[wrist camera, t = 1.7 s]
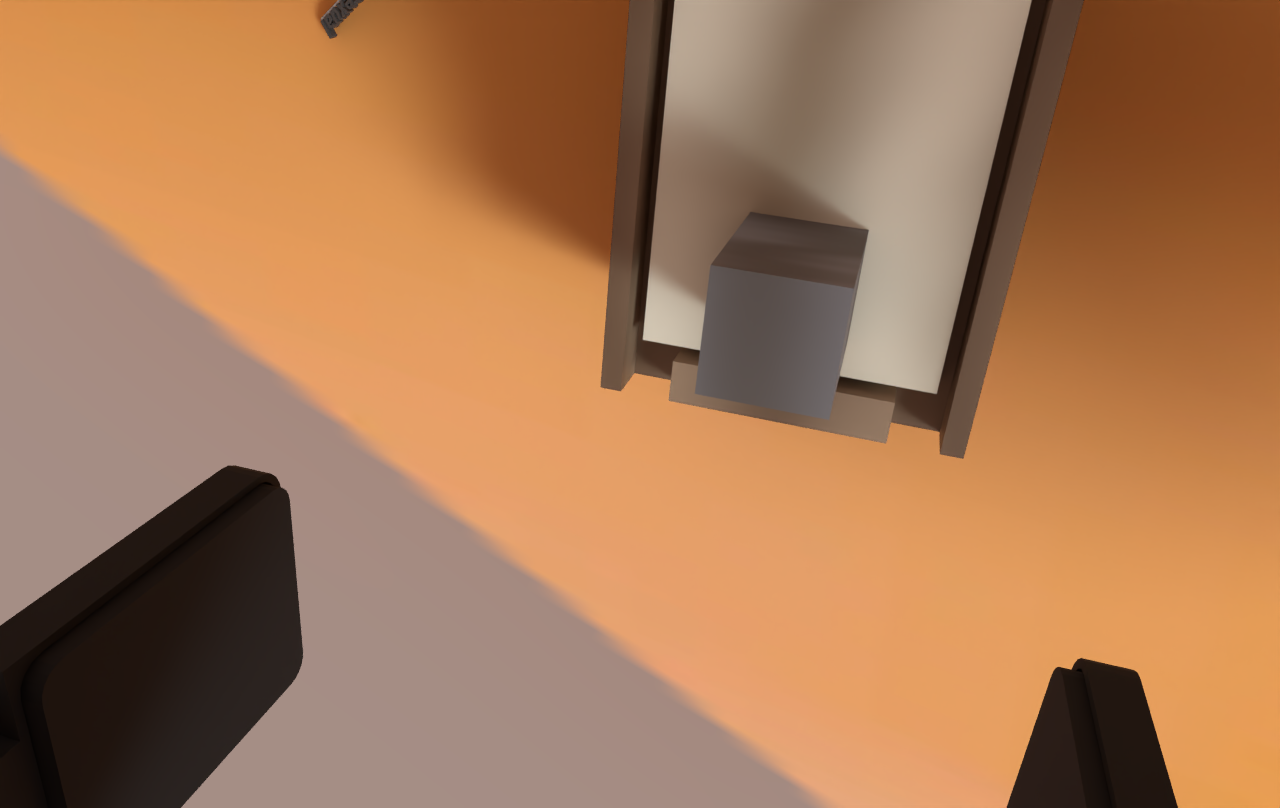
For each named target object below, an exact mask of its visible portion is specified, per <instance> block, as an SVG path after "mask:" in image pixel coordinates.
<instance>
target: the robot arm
mask: <svg viewBox="0 0 1280 808" xmlns="http://www.w3.org/2000/svg"><path fill="white" fill-rule="evenodd" d="M302 659H303V648H302V636H301V625H300V613H299V601H298V591H297V579H296V568H295V556H294V544H293V532H292V521H291V510H290V499H289V495H288V493H287V491H286V490H284V489H283V488H281V487H280V483H279V481H278V479H277V478H276V477H275V476H274V475H272V474H270V473H265V472H261V471H256V470H252V469H248V468H243V467H239V466H227V467H225V468H223V469H221V470H220V471H218V472H217V473H215V474H214V475H212V476H211V477H210V478H208V479H207V480H206V481H204V482H203V483H201V484H200V485H198V486H197V487H196V488H194V489H193V490H191V491H190V492H189V493H187V494H186V495H184V496H183V497H181V498H180V499H179V500H177V501H176V502H174V503H173V504H172V505H170V506H169V507H167V508H166V509H164V510H163V511H162V512H160V513H159V514H157V515H156V516H155V517H153V518H152V519H150V520H149V521H148V522H146V523H145V524H144V525H142V526H140V527H139V528H138V529H136V530H135V531H133V532H132V533H131V534H129V535H128V536H126V537H125V538H124V539H122V540H121V541H119V542H118V543H116V544H115V545H114V546H112V547H111V548H110V549H108V550H107V551H105V552H104V553H102V554H101V555H99V556H98V557H97V558H95V559H94V560H93V561H91V562H90V563H88V564H87V565H86V566H84V567H83V568H81V569H80V570H78V571H77V572H76V573H74V574H73V575H71V576H70V577H68V578H67V579H66V580H64V581H63V582H61V583H60V584H59V585H57V586H56V587H54V588H53V589H51V591H49V592H47V593H46V594H44V595H43V596H42V597H40V598H39V599H37V600H36V601H35V602H33V603H32V604H30V605H29V606H27V607H26V608H25V609H23V610H22V611H20V612H19V613H18V614H16V615H15V616H13V617H12V618H11V619H9V620H8V621H6V622H5V623H4V624H2V625H1V626H0V808H181V807H182V806H183V805H184V804H185V802H186V801H187V800H188V799H189V798H190V797H191V796H192V795H193V793H194V792H195V791H196V790H197V789H198V787H200V786H201V784H202V783H203V782H204V781H205V780H206V779H207V778H208V777H209V775H210V774H211V773H212V772H213V771H214V770H215V769H216V768H217V767H218V765H219V764H220V763H221V762H222V761H223V760H224V759H225V758H226V756H227V755H228V754H229V753H230V752H231V751H232V750H233V749H234V748H235V746H236V745H237V744H238V743H239V742H240V741H241V740H242V739H243V737H244V736H245V735H246V734H247V733H248V732H249V731H250V730H251V728H252V727H253V726H254V725H255V724H256V723H257V722H258V721H259V720H260V718H261V717H262V716H263V715H264V714H265V713H266V712H267V710H268V709H269V708H270V707H271V706H272V705H273V704H274V703H275V702H276V700H277V699H278V698H279V697H280V696H281V695H282V694H283V693H284V692H285V690H286V689H287V688H288V687H289V686H290V685H291V684H292V682H293V680H295V678H296V676H297V674H298V672H299V670H300V667H301V664H302ZM1007 808H1178V806H1177V803H1176V799H1175V796H1174V793H1173V789H1172V786H1171V782H1170V779H1169V775H1168V772H1167V769H1166V765H1165V762H1164V758H1163V755H1162V751H1161V748H1160V744H1159V741H1158V738H1157V734H1156V731H1155V727H1154V724H1153V720H1152V717H1151V714H1150V710H1149V707H1148V703H1147V700H1146V696H1145V693H1144V690H1143V686H1142V683H1141V679H1140V677H1139V675H1138V673H1137V672H1136V671H1134V670H1131V669H1127V668H1122V667H1118V666H1113V665H1109V664H1105V663H1100V662H1096V661H1091V660H1087V659H1083V658H1080V659H1078V660H1077V661H1076V662H1075V664H1074V665H1073V668H1072V670H1070V669H1066V668H1061V667H1057V668H1056V669H1055V670H1054V671H1053V674H1052V676H1051V679H1050V682H1049V685H1048V688H1047V691H1046V694H1045V696H1044V699H1043V702H1042V705H1041V708H1040V711H1039V714H1038V717H1037V720H1036V723H1035V726H1034V729H1033V732H1032V735H1031V738H1030V741H1029V744H1028V746H1027V749H1026V752H1025V755H1024V758H1023V761H1022V764H1021V767H1020V770H1019V773H1018V776H1017V779H1016V782H1015V785H1014V788H1013V791H1012V793H1011V796H1010V799H1009V802H1008V805H1007Z"/></svg>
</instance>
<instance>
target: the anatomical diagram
mask: <svg viewBox="0 0 1280 808" xmlns="http://www.w3.org/2000/svg"><path fill="white" fill-rule="evenodd" d="M339 2H340V3H339ZM361 2H363V0H338V1H337V2H336V3H335V4H334V5H333V6H332V7H331V8H330V9H329V10H328V11H327V12H326V13H325V14H324V15H323V17H322V18H321V23H322V25H323V27H324V29H325V31H326V33H327V34H328V36H329V38H334V37H336V36H337V34H336V32H335V30H334V28H336V27H338V26H339V24H340V23H342V22H343V19H346V18H347V16H349V15H350V12H352V11H353V8H357V6H358V3H361ZM335 6H337V7H335Z"/></svg>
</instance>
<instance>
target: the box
mask: <svg viewBox="0 0 1280 808" xmlns="http://www.w3.org/2000/svg"><path fill="white" fill-rule="evenodd" d="M1083 1H1084V0H1032V1H1031V5H1030V10H1029V14H1028V18H1027V22H1026V26H1025V30H1024V34H1023V39H1022V43H1021V47H1020V51H1019V55H1018V59H1017V63H1016V68H1015V72H1014V76H1013V80H1012V84H1011V88H1010V92H1009V97H1008V101H1007V105H1006V109H1005V113H1004V117H1003V121H1002V126H1001V130H1000V134H999V138H998V142H997V146H996V150H995V155H994V159H993V163H992V167H991V171H990V175H989V179H988V184H987V188H986V192H985V196H984V200H983V204H982V208H981V213H980V217H979V221H978V225H977V229H976V233H975V237H974V242H973V246H972V250H971V254H970V258H969V262H968V266H967V271H966V275H965V279H964V283H963V287H962V291H961V295H960V300H959V304H958V308H957V312H956V316H955V320H954V324H953V329H952V333H951V337H950V341H949V345H948V349H947V353H946V358H945V362H944V366H943V370H942V374H941V378H940V382H939V387H938V391H937V394H934V393H929V392H923V391H918V390H912V389H907V388H902V387H896V386H891V385H885V384H880V383H875V382H869V381H864V380H858V379H853V378H847V377H842V376H839V380H838V384H837V388H836V393H835V397H834V401H833V405H832V410H831V414H830V418H829V420H827V419H822V418H816V417H811V416H806V415H801V414H796V413H791V412H785V411H780V410H775V409H770V408H765V407H760V406H755V405H749V404H744V403H739V402H734V401H729V400H724V399H719V398H713V397H708V396H703V395H698V394H695V388H696V380H697V371H698V363H699V355H700V350H696V349H690V348H685V347H679V346H674V345H669V344H663V343H658V342H652V341H647V340H643V332H644V322H645V311H646V300H647V290H648V279H649V268H650V258H651V247H652V236H653V226H654V215H655V204H656V194H657V183H658V172H659V162H660V151H661V140H662V130H663V119H664V109H665V98H666V87H667V77H668V66H669V55H670V45H671V34H672V23H673V13H674V2H675V0H630V3H629V17H628V30H627V43H626V56H625V70H624V83H623V96H622V110H621V123H620V136H619V150H618V163H617V176H616V189H615V203H614V216H613V229H612V243H611V256H610V269H609V283H608V296H607V309H606V322H605V336H604V349H603V362H602V376H601V387H602V388H607V389H612V390H617V391H621V390H622V389H623V388H624V386H625V385H626V384H627V382H628V381H629V380H630V378H631V377H632V375H633V374H634V373H637V374H642V375H648V376H653V377H658V378H663V379H668V380H671V384H670V394H669V401H673V402H678V403H683V404H688V405H693V406H698V407H703V408H708V409H714V410H719V411H724V412H729V413H734V414H739V415H744V416H749V417H754V418H759V419H764V420H769V421H774V422H780V423H785V424H790V425H795V426H800V427H805V428H810V429H815V430H820V431H825V432H830V433H835V434H840V435H846V436H851V437H856V438H861V439H866V440H871V441H876V442H881V443H886V442H887V437H888V433H889V428H890V424H891V422H892V423H897V424H902V425H908V426H913V427H918V428H923V429H928V430H934V431H939V432H940V454H942V455H947V456H952V457H957V458H962V459H963V458H964V454H965V450H966V446H967V443H968V439H969V435H970V431H971V427H972V424H973V420H974V416H975V412H976V408H977V404H978V401H979V397H980V393H981V389H982V385H983V382H984V378H985V374H986V370H987V366H988V363H989V359H990V355H991V351H992V347H993V344H994V340H995V336H996V332H997V328H998V325H999V321H1000V317H1001V313H1002V309H1003V306H1004V302H1005V298H1006V294H1007V290H1008V287H1009V283H1010V279H1011V275H1012V271H1013V268H1014V264H1015V260H1016V256H1017V252H1018V249H1019V245H1020V241H1021V237H1022V233H1023V230H1024V226H1025V222H1026V218H1027V214H1028V210H1029V207H1030V203H1031V199H1032V195H1033V191H1034V188H1035V184H1036V180H1037V176H1038V172H1039V169H1040V165H1041V161H1042V157H1043V153H1044V150H1045V146H1046V142H1047V138H1048V134H1049V131H1050V127H1051V123H1052V119H1053V115H1054V112H1055V108H1056V104H1057V100H1058V96H1059V93H1060V89H1061V85H1062V81H1063V77H1064V74H1065V70H1066V66H1067V62H1068V58H1069V55H1070V51H1071V47H1072V43H1073V39H1074V36H1075V32H1076V28H1077V24H1078V20H1079V17H1080V13H1081V9H1082V5H1083Z"/></svg>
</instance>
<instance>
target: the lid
mask: <svg viewBox="0 0 1280 808" xmlns="http://www.w3.org/2000/svg"><path fill="white" fill-rule="evenodd" d="M1031 1H1032V0H675V2H674V13H673V23H672V34H671V45H670V55H669V66H668V77H667V87H666V98H665V109H664V119H663V130H662V140H661V151H660V162H659V172H658V183H657V194H656V204H655V215H654V226H653V236H652V247H651V258H650V268H649V279H648V290H647V300H646V311H645V322H644V332H643V340H647V341H652V342H658V343H663V344H669V345H674V346H679V347H685V348H690V349H696V350H700V355H699V363H698V371H697V380H696V388H695V394H698V395H703V396H708V397H713V398H719V399H724V400H729V401H734V402H739V403H744V404H749V405H755V406H760V407H765V408H770V409H775V410H780V411H785V412H791V413H796V414H801V415H806V416H811V417H816V418H822V419H827V420H829V418H830V414H831V410H832V405H833V401H834V397H835V393H836V388H837V384H838V380H839V376H842V377H847V378H853V379H858V380H864V381H869V382H875V383H880V384H885V385H891V386H896V387H902V388H907V389H912V390H918V391H923V392H929V393H934V394H937V391H938V387H939V382H940V378H941V374H942V370H943V366H944V362H945V358H946V353H947V349H948V345H949V341H950V337H951V333H952V329H953V324H954V320H955V316H956V312H957V308H958V304H959V300H960V295H961V291H962V287H963V283H964V279H965V275H966V271H967V266H968V262H969V258H970V254H971V250H972V246H973V242H974V237H975V233H976V229H977V225H978V221H979V217H980V213H981V208H982V204H983V200H984V196H985V192H986V188H987V184H988V179H989V175H990V171H991V167H992V163H993V159H994V155H995V150H996V146H997V142H998V138H999V134H1000V130H1001V126H1002V121H1003V117H1004V113H1005V109H1006V105H1007V101H1008V97H1009V92H1010V88H1011V84H1012V80H1013V76H1014V72H1015V68H1016V63H1017V59H1018V55H1019V51H1020V47H1021V43H1022V39H1023V34H1024V30H1025V26H1026V22H1027V18H1028V14H1029V10H1030V5H1031Z"/></svg>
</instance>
